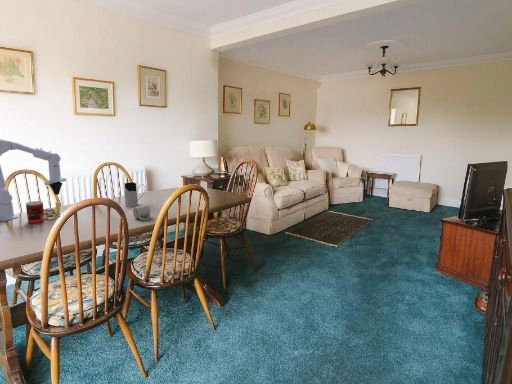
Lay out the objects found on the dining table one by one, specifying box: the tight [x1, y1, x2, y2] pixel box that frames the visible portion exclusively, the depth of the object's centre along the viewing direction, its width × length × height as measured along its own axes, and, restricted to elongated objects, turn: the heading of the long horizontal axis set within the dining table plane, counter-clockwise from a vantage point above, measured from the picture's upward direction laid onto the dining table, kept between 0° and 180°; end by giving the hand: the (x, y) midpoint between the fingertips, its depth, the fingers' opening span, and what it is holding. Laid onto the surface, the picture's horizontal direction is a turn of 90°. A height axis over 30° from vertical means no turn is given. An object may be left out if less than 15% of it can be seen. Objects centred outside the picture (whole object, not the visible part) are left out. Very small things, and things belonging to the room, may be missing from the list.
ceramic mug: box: [132, 204, 151, 221], centre depth 190 cm, size 11×8×8 cm
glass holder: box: [123, 181, 146, 208], centre depth 219 cm, size 9×14×15 cm, turn 127°
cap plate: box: [44, 207, 64, 221], centre depth 188 cm, size 14×14×4 cm
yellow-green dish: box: [43, 201, 61, 216], centre depth 189 cm, size 13×10×5 cm
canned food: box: [25, 200, 45, 225], centre depth 175 cm, size 8×8×11 cm
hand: (56, 194), depth 196 cm, fingers closed
